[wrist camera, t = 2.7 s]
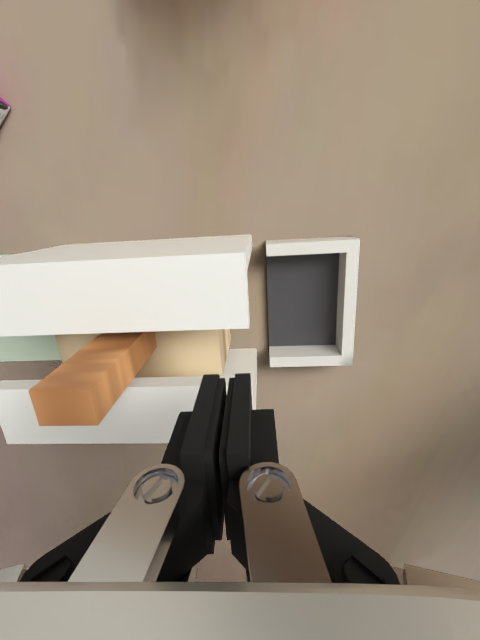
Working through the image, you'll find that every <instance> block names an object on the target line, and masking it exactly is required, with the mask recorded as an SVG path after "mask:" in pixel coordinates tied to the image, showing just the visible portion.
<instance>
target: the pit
mask: <svg viewBox="0 0 480 640" xmlns="http://www.w3.org/2000/svg"><path fill="white" fill-rule="evenodd" d="M359 248H360V239H358V238H355V237H352V236H342V237H323V238H305V239H286V240H268V241H266V267H267V298H268V329H269V358H270V367H301V366H344V365H352V362H353V346H354V330H355V313H356V297H357V280H358V264H359Z"/></svg>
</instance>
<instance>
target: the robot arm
mask: <svg viewBox="0 0 480 640" xmlns="http://www.w3.org/2000/svg"><path fill="white" fill-rule="evenodd" d="M224 515H225V525H226V535H227V540H231V550H232V554H233V555H234V557H235V558H236V559H237V560H238V561H239V562H240V563H241V564H242V565H243V566H244V567H245V569H246V580H247V582H195V579H196V575H197V563H198V562H199V561H200V560H201V559H203V558H204V557H205V556H206V555H207V554H214V546H215V540H222V533H223V523H224ZM0 640H480V581H477V580H472V579H468V578H464V577H459V576H455V575H451V574H446V573H442V572H437V571H433V570H429V569H424V568H420V567H416V566H411V565H407V564H404V568H403V569H400V568H396V567H392V566H390V564H389V563H388V562H387V561H386V560H385V559H384V558H383V557H381V556H380V555H379V554H378V553H377V552H375V551H374V550H372V549H371V548H370V547H368V546H367V545H366V544H364V543H363V542H362V541H360V540H359V539H357V538H356V537H355V536H353V535H352V534H351V533H349V532H348V531H346V530H345V529H344V528H342V527H341V526H340V525H338V524H337V523H336V522H334V521H333V520H331V519H330V518H329V517H327V516H326V515H325V514H323V513H322V512H320V511H319V510H318V509H316V508H315V507H314V506H312V505H311V504H310V503H308V502H307V501H305V500H304V499H303V498H302V495H301V492H300V489H299V487H298V484H297V481H296V479H295V477H294V475H293V473H292V472H291V471H290V470H289V469H288V468H286V467H284V466H283V465H281V464H279V460H278V450H277V440H276V429H275V419H274V410H273V409H262V410H252V392H251V375H250V373H236V374H235V378H229V384H228V391H227V393H226V381H225V378H220V376H219V374H206V375H203V378H202V381H201V384H200V388H199V391H198V394H197V398H196V401H195V404H194V408H193V411H186V412H180V413H179V415H178V418H177V421H176V424H175V426H174V429H173V432H172V435H171V438H170V440H169V443H168V446H167V449H166V451H165V454H164V457H163V460H162V462H161V464H157V465H153V466H150V467H148V468H146V469H144V470H142V471H141V472H139V473H138V474H137V475H136V476H135V477H134V478H133V479H132V480H131V482H130V483H129V485H128V486H127V488H126V490H125V491H124V493H123V494H122V496H121V497H120V499H119V501H118V502H117V504H116V505H115V507H114V509H113V510H112V511H111V512H110V513H108V514H107V515H105V516H104V517H102V518H101V519H99V520H97V521H96V522H94V523H93V524H91V525H90V526H88V527H87V528H85V529H84V530H82V531H80V532H79V533H77V534H76V535H74V536H73V537H71V538H70V539H68V540H66V541H65V542H63V543H62V544H60V545H59V546H57V547H56V548H54V549H53V550H51V551H49V552H48V553H46V554H45V555H43V556H42V557H41V558H40V559H38V560H37V561H36V562H34V563H33V564H32V566H31V567H30V568H27V569H26V567H25V564H20V565H16V566H11V567H7V568H3V569H0Z"/></svg>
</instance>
